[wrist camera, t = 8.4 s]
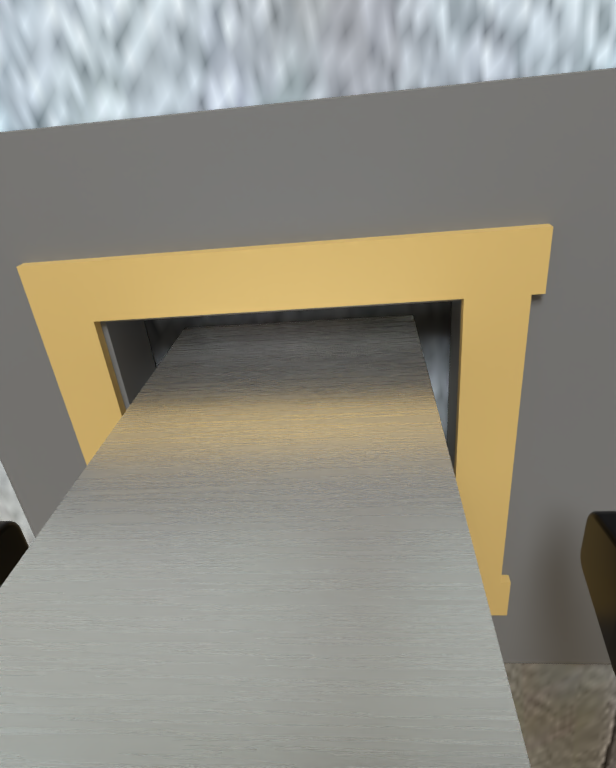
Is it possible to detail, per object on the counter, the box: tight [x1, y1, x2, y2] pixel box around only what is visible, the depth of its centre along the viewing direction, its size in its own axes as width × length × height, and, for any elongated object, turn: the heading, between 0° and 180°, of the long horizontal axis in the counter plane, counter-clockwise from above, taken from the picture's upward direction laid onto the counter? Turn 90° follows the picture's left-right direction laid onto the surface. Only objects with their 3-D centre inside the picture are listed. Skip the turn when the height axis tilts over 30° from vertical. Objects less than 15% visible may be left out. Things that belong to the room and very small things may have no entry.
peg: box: [0, 315, 531, 768], centre depth 8 cm, size 4×4×8 cm
